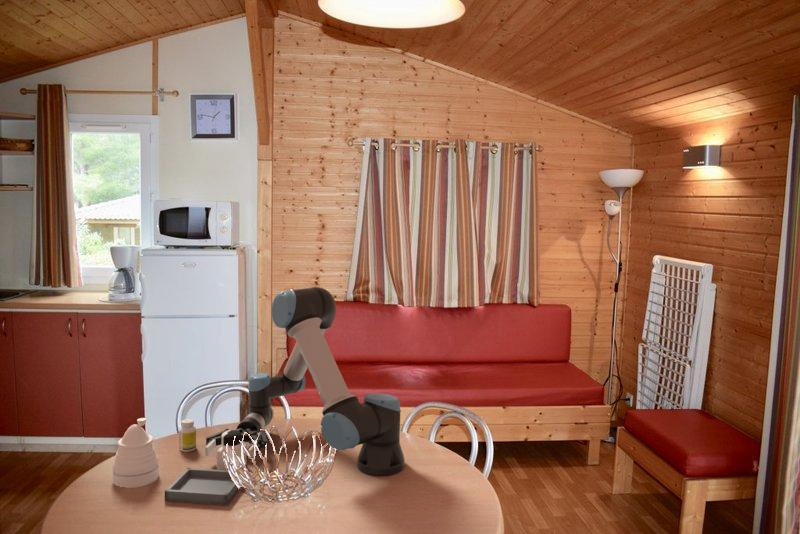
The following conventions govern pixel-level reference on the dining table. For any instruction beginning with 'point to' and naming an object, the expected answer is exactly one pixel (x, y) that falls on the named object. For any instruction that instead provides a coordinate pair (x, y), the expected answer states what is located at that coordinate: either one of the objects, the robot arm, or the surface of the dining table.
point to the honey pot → (135, 458)
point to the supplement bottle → (187, 436)
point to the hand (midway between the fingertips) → (227, 453)
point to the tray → (202, 487)
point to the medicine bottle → (228, 438)
